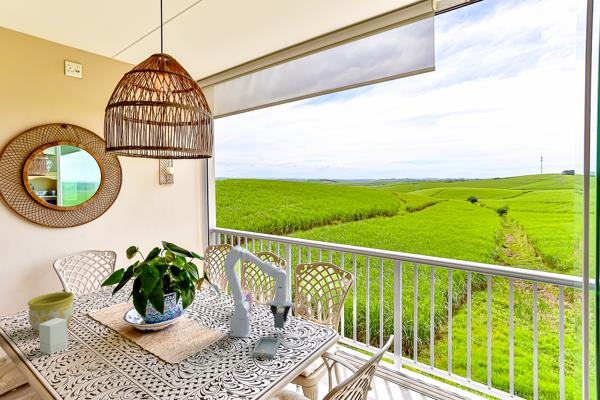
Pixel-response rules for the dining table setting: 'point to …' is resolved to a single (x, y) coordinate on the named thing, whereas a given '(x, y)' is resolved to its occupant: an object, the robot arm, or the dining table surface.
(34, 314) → the flowerpot
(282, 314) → the block
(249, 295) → the box
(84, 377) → the dining table surface
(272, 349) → the pin tray
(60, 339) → the supplement box
